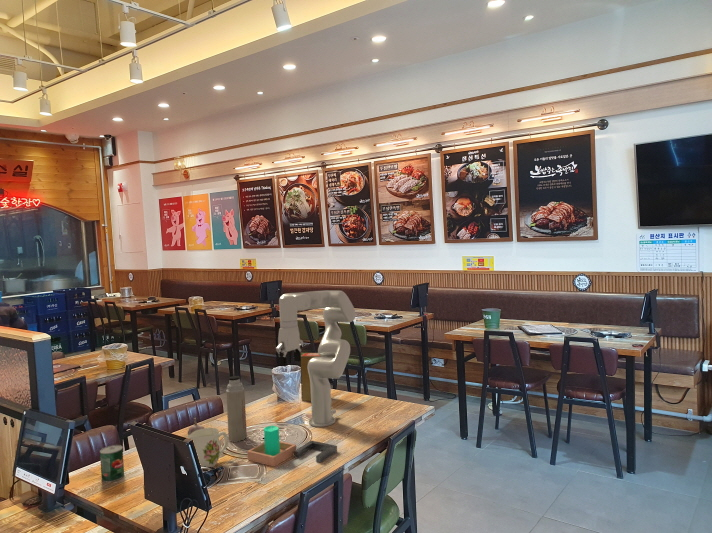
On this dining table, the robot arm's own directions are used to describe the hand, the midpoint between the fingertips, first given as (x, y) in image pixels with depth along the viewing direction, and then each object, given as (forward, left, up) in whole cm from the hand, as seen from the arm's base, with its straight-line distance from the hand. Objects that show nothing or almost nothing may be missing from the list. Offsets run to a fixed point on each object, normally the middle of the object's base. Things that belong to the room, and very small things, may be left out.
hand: (290, 363), depth 222 cm
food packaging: (-53, -27, -34) cm, 69 cm away
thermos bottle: (+9, -25, -34) cm, 44 cm away
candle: (+17, +2, -34) cm, 37 cm away
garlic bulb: (+14, -46, -35) cm, 59 cm away
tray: (+17, +2, -34) cm, 38 cm away
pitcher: (+34, -16, -34) cm, 51 cm away
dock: (+8, +17, -34) cm, 39 cm away
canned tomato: (+59, -41, -34) cm, 80 cm away
